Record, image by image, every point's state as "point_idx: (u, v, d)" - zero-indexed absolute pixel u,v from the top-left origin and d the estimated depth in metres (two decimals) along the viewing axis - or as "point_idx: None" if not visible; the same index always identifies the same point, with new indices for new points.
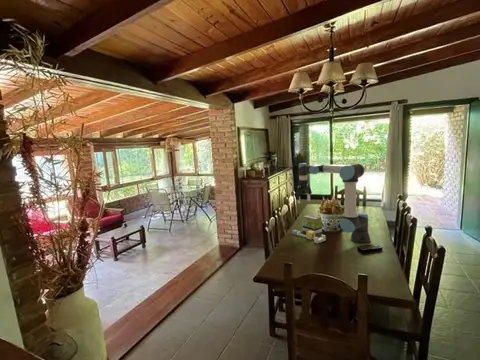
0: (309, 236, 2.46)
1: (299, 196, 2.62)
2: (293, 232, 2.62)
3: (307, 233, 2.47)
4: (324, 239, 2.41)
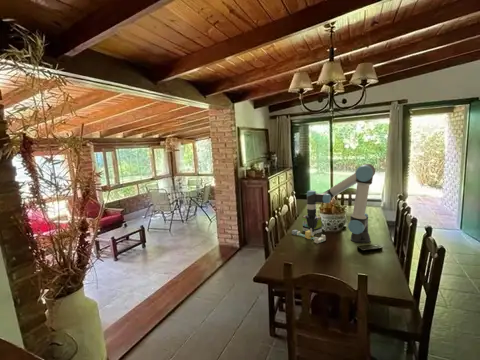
0: (308, 236, 2.47)
1: (311, 228, 2.45)
2: (293, 232, 2.62)
3: (306, 233, 2.48)
4: (324, 239, 2.41)
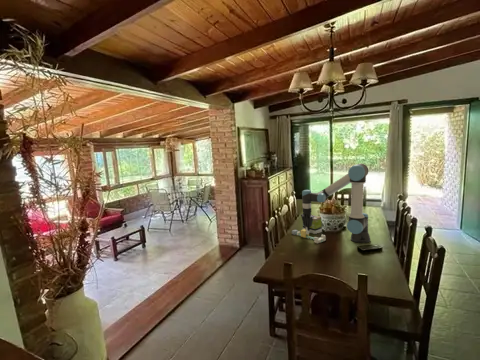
0: (303, 234, 2.51)
1: (306, 226, 2.50)
2: (293, 232, 2.62)
3: (301, 231, 2.53)
4: (324, 239, 2.41)
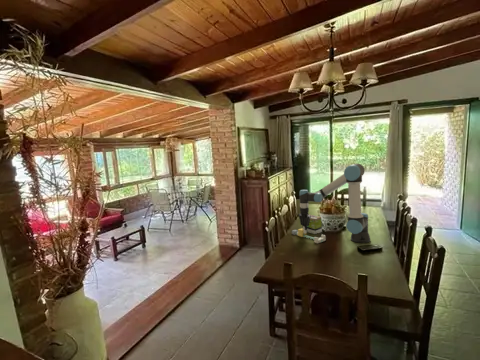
0: (300, 233, 2.54)
1: (303, 226, 2.52)
2: (293, 232, 2.62)
3: (299, 231, 2.55)
4: (324, 239, 2.41)
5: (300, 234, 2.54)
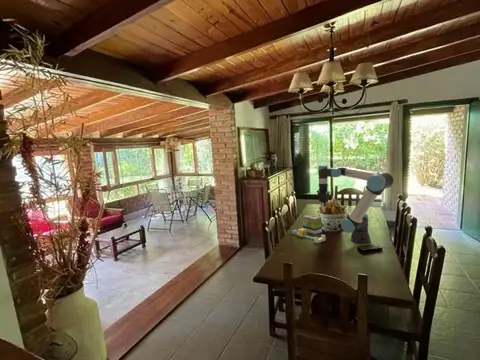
0: (300, 233, 2.54)
1: (322, 202, 2.47)
2: (293, 232, 2.62)
3: (299, 231, 2.55)
4: (324, 239, 2.41)
5: (300, 234, 2.54)
